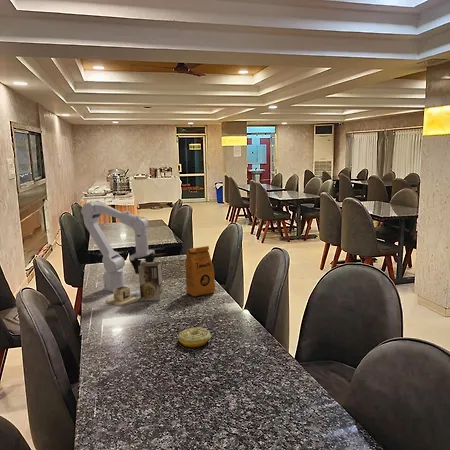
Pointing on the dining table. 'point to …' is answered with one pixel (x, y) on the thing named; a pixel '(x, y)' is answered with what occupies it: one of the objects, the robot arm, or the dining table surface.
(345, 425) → the dining table surface
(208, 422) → the dining table surface
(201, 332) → the decorated donut
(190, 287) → the coffee package
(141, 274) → the coffee box
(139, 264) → the robot arm
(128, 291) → the letter block
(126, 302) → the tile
